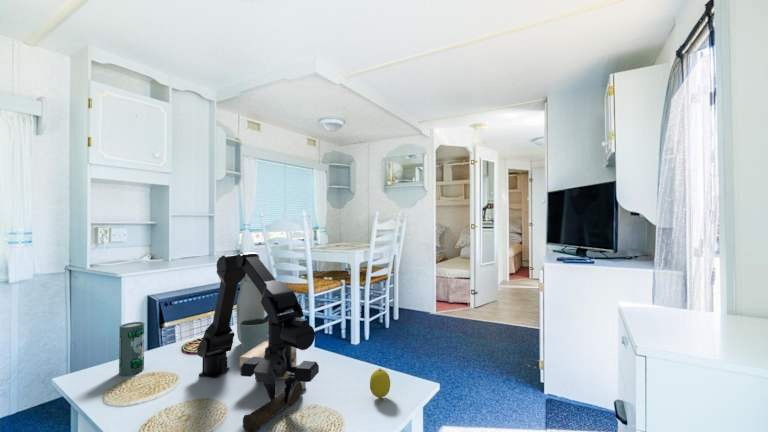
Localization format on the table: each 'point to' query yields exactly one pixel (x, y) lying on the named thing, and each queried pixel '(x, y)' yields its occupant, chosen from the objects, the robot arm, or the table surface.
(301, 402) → the table surface
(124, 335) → the can
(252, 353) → the beige wooden box
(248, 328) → the grey green cup
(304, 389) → the steel token
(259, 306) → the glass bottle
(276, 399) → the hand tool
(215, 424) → the table surface
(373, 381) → the lemon
